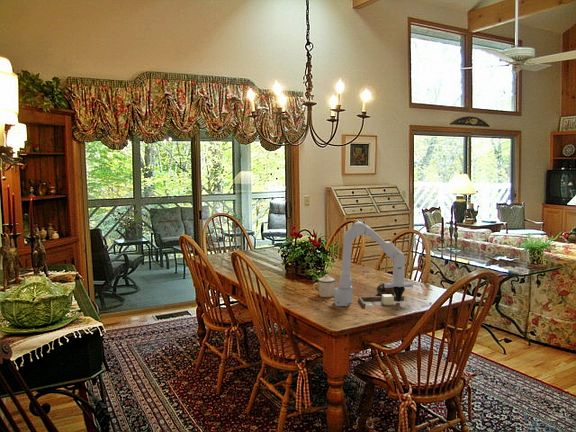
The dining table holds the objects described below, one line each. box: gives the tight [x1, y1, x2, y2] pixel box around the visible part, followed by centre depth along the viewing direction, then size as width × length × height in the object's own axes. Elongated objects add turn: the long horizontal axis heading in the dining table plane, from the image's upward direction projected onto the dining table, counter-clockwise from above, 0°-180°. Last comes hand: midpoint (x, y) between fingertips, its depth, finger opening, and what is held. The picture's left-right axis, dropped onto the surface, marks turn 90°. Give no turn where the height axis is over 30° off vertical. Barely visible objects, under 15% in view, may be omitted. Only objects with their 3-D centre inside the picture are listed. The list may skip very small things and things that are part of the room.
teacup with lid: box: [313, 274, 336, 298], centre depth 269 cm, size 12×9×12 cm
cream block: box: [382, 294, 395, 306], centre depth 248 cm, size 5×5×4 cm
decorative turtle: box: [376, 283, 395, 296], centre depth 264 cm, size 10×15×8 cm, turn 16°
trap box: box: [357, 295, 411, 309], centre depth 247 cm, size 24×13×4 cm, turn 93°
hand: (398, 301), depth 248 cm, fingers closed
